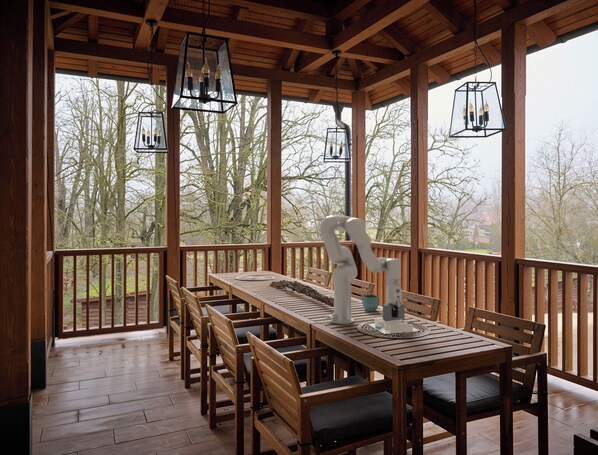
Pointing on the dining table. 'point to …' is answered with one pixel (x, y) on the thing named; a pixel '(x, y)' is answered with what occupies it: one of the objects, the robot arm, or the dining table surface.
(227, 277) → the dining table surface
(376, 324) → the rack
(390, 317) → the panel
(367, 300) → the flower pot
